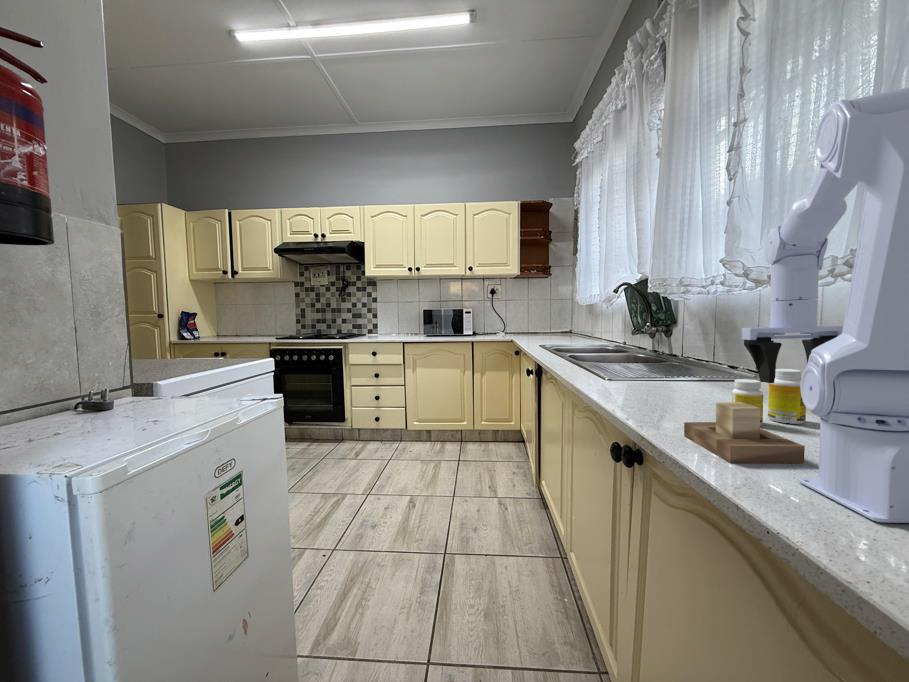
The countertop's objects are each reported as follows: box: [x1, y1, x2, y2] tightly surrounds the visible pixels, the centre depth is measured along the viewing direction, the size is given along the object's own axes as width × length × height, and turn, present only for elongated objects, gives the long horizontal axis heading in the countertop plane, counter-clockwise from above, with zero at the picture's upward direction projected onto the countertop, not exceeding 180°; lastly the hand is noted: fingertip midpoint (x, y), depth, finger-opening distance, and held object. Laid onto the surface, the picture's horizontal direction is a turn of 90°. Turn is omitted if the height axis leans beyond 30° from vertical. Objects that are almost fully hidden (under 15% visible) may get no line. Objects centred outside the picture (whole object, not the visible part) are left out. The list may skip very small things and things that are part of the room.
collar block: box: [683, 421, 806, 464], centre depth 57 cm, size 12×10×2 cm
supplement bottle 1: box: [731, 378, 764, 426], centre depth 70 cm, size 5×5×8 cm
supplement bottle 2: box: [767, 368, 807, 425], centre depth 70 cm, size 6×6×10 cm
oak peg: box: [715, 401, 761, 439], centre depth 57 cm, size 4×4×7 cm
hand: (791, 381), depth 60 cm, fingers open, 7 cm apart
